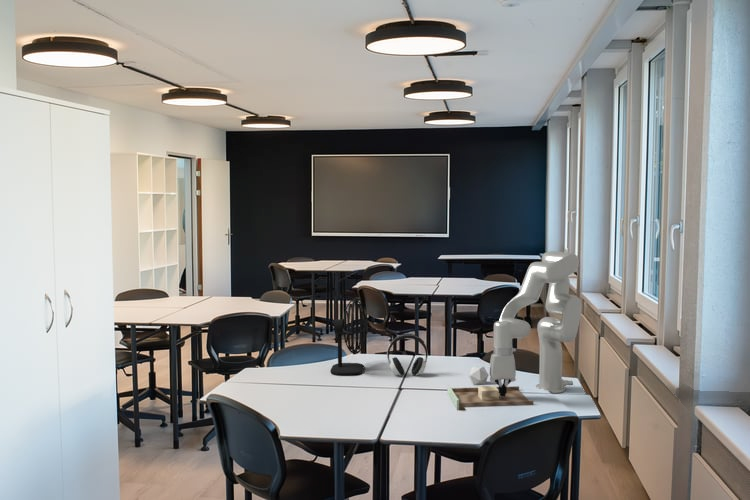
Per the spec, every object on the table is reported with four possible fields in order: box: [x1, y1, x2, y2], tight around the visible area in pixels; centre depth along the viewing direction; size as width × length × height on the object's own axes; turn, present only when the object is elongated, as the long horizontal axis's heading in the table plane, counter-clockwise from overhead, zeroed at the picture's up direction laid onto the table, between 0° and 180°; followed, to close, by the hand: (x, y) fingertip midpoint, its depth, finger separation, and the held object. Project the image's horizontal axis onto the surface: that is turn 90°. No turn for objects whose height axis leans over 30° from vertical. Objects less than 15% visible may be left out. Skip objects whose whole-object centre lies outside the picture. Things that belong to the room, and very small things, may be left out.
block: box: [477, 385, 499, 401], centre depth 289 cm, size 7×7×4 cm
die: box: [468, 366, 489, 386], centre depth 315 cm, size 8×9×10 cm
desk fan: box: [330, 298, 369, 376], centre depth 340 cm, size 27×18×35 cm, turn 176°
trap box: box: [451, 385, 534, 411], centre depth 289 cm, size 30×22×3 cm
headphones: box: [386, 333, 429, 377], centre depth 330 cm, size 19×8×20 cm, turn 91°
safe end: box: [446, 384, 460, 411], centre depth 288 cm, size 1×22×4 cm, turn 4°
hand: (502, 395), depth 290 cm, fingers closed
